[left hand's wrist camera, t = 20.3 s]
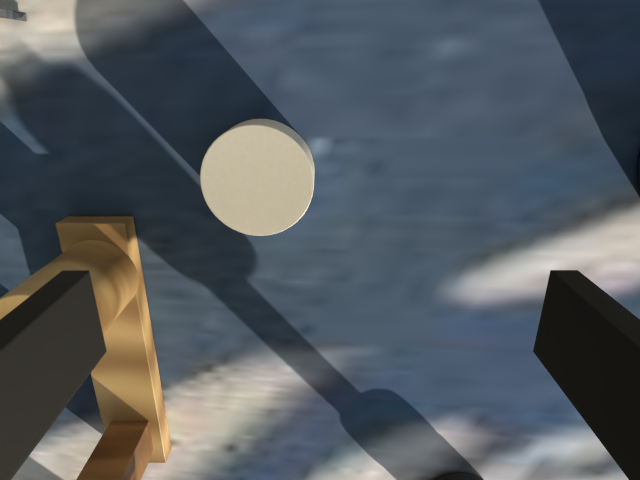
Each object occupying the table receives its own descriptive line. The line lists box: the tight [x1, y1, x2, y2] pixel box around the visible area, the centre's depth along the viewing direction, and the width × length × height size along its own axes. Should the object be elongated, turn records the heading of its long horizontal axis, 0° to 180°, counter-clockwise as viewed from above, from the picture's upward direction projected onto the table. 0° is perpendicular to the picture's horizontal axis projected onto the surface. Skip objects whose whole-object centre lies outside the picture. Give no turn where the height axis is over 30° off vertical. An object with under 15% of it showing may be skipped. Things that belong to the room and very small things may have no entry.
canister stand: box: [0, 216, 171, 480], centre depth 39 cm, size 28×7×12 cm, turn 0°
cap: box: [200, 119, 315, 236], centre depth 36 cm, size 9×9×4 cm
